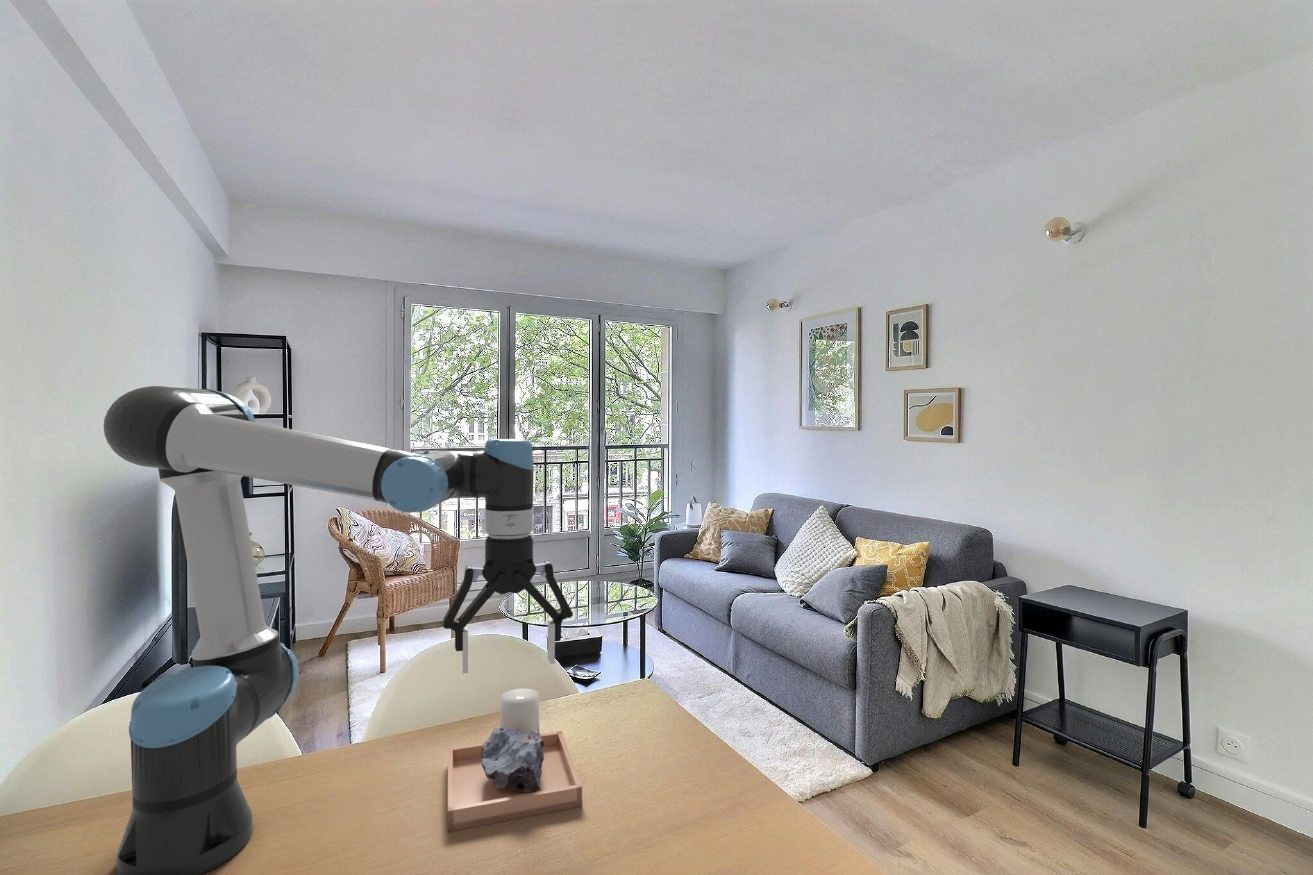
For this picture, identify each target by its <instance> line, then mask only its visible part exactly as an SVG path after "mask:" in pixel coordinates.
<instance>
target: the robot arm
mask: <svg viewBox="0 0 1313 875" xmlns="http://www.w3.org/2000/svg"><path fill="white" fill-rule="evenodd" d="M103 432H104V433H103V435H104V437H105V440H106V443H107V444H108V445H109V447H110V448H111V450H112V451H113V452H114V453H115V454H116V455H117V456H119V457H120V458H122V459H123V460H124V461H126V462H129V463H130V464H134V465H137V466H141V467H144V468H145V467H146V468H152V469H153V468H155V469H157V470H158V475H159V480H160V483H161V482H162V484H165V485H166V486H168V487H170V488H172V490H173V491H174V494H175V500H176V505H177V506H176V507H177V510H178V516H179V523H180V527H181V534H182V541H183V546H184V550H185V555H186V562H187V566H188V573H189V578H190V585H191V590H192V594H193V601H194V607H195V612H196V618H197V624H198V629H199V635H200V640H201V641H200V644H199V645H198V646H197V647H196V649H195V650H194V651H193V652H192V654H191V660H192V664H193V667H191V668H185V669H182V670H180V671H179V672H177V673H174V674H167V675H165V676H163V677H161V678H159V679H157V680H155V681H153V682H152V683H150V684H149V685H148V686H146V687H145V688H143V689H142V691H140V692H139V694H138V695H137V696H136V697H135V698H134V700H133V702H132V705H131V709H130V710H131V711H130V721H129V725H128V734H129V739H130V754H131V755H130V760H131V763H130V764H131V793H132V808H131V813H130V816H129V819H128V822H127V825H126V827H125V831H124V832H123V836H122V839H121V842H120V844H119V847H118V849H117V854H116V875H203V874H206V873H207V872H210V871H212V870H213V869H215V868H217V867H219V866H221V865H222V864H224V863H226V862H227V861H228V860H230V859H231V858H233V857H234V856H235V855H237V854H238V853H239V852H240V851H242V849H243V848H244V847H245V846H246V845H247V843H249V841H250V839H251V837H252V834H253V828H254V827H253V814H252V813H253V812H252V809H251V807H250V806H249V803H248V801H247V799H246V796H245V794H244V792H243V790H242V788H241V785H240V783H239V781H238V765H237V764H238V762H237V760H238V758H237V752H238V751H237V746H238V744H239V743H240V742H242V740H244V739H245V738H246V737H248V736H249V735H250V734H251V733H252V732H254V731H255V730H256V729H257V728H258V727H260V726H261V725H262V724H263V723H264V722H265V721H266V720H268V719H271V718H272V717H273V716H274V715H276V714H277V713H278V712H279V711H280V710H281V709H282V707H284V705H285V704H286V703H287V701H289V699H290V698H291V696H292V695H293V693H295V692H294V691H295V690H296V687H297V684H298V680H299V674H300V673H299V672H300V671H299V664H298V661H297V658H296V656H295V654H294V652H293V651H292V650H291V649H289V648H287V647H286V644H284V643H282V642H281V641H280V636H279V632H278V630H276V629H274V628H272V627H270V626H268V625H267V624H266V620H265V615H264V614H265V613H264V609H263V608H264V607H263V603H262V597H261V592H260V587H259V580H258V574H257V569H256V563H255V562H256V561H255V558H254V550H253V546H252V540H251V535H250V534H251V533H250V530H249V529H250V528H249V523H248V517H247V516H248V515H247V513H246V512H247V511H246V505H245V500H244V493H243V489H242V488H243V487H242V482H241V481H242V478H243V477H247V478H253V479H258V480H264V481H270V482H274V483H280V484H285V485H291V486H295V487H302V488H307V489H312V490H318V491H324V492H328V493H334V494H339V495H345V496H349V497H356V498H361V499H365V500H372V501H377V502H380V503H383V504H384V503H385V504H388V505H390V506H391V507H392V508H394V509H395V510H397V511H399V512H402V513H407V514H408V513H411V514H412V513H421V512H426V511H428V510H430V509H432V508H434V507H436V506H437V505H439V504H442V503H443V502H445V501H448V500H450V499H470V498H471V499H482V498H483V499H484V502H485V504H484V506H485V508H484V509H485V510H484V511H485V512H484V516H485V517H484V523H485V524H484V526H485V527H484V532H485V533H486V534H487V536H486V538H485V540H484V541H485V542H484V549H485V550H484V552H485V553H484V557H485V558H484V559H485V560H484V565H483V567H473V566H472V565H470V564H469V565H466V566H465V568H464V575H463V580H462V582H461V584H460V586H459V588H458V590H457V592H456V594H455V595H454V598H453V599H452V601H451V604H450V605H449V608H448V610H447V611H446V613H445V616H444V617H443V621H442V625H443V626H442V627H443V628H444V629H446V630H449V629H450V630H452V631H453V632H454V648H455V651H456V652H462V674H468V673H469V630H468V626H467V625H468V624H469V623H470V621H472V620H473V618H474V617H475V616H476V614H478V612H479V610H480V609H481V608H482V607H483V606H484V605H485V603H487V601H488V600H489V599H491V598H492V596H493V594H495V592H496V593H497V594H499V595H506V594H509V593H512V594H520V592H522V591H524V590H525V591H526V592H527V593H528V594H529V595H530V596H531V597H532V598H533V599H534V601H536V602H537V604H538V605H539V606H540V607H541V608H542V609H543V610H544V612H546V613H547V615H548V616H549V617H550V618H551V619H547V660H548V663H549V664H550V665H554V664H555V663H556V659H555V658H556V653H555V652H556V642H561V640H562V623H563V622H564V620H566V619H571V617H573V612H572V609H571V607H570V606H569V604H568V602H567V600H566V597H565V596H564V594H563V592H562V590H561V588H560V586H559V583H557V581H556V578H555V576H554V568H553V564H552V563H551V562H550V560H545V561H543V563H536V564H535V563H534V537H533V535H532V534H531V533H532V532H533V531H534V470H535V466H534V458H533V445H532V443H531V441H529V440H528V439H523V438H492V439H487V440H486V442H485V445H484V446H485V447H484V448H483V450H477V451H462V450H461V451H459V450H436V449H430V450H421V451H418V450H417V451H413V452H410V451H406V450H401V449H399V450H398V449H392V448H390V447H389V448H388V447H382V446H379V445H373V444H368V443H363V442H358V441H354V440H353V441H352V440H347V439H343V438H342V439H341V438H337V437H332V436H327V435H323V434H317V433H316V434H315V433H312V432H307V431H303V430H296V429H291V428H286V427H282V426H281V427H280V426H276V425H270V424H265V423H261V422H256V419H255V416H254V414H253V413H252V411H251V410H250V407H248V406H247V405H246V404H245V402H243V401H242V400H240V399H239V398H237V397H236V396H234V395H232V394H229V393H227V392H224V391H223V392H222V391H218V390H215V389H209V388H192V387H191V388H189V387H188V388H187V387H186V388H185V387H170V386H162V385H161V386H160V385H152V386H144V387H139V388H135V389H133V390H130V391H127V392H125V393H124V394H122V395H121V396H119V397H118V398H117V399H116V400H115V401H114V402H112V404H111V405H110V407H109V408H108V409H107V411H106V415H105V416H104V419H103ZM537 572H538V573H539V574H540V576H541V577H542V578H544V577H545V581H547V583H548V586H549V587H550V589H551V591H552V594H553V595H554V596H555V599H556V601H557V603H558V605H559V607H560V608H561V609H560V610H557V609H556V608H555V607H554V606H553V605H552V603H551V602H550V601H549V600H548V598H546V597H545V596H544V595H543V594H542V593H541V591H539V590H538V588H537V586H535V585H534V584H533V582H532V581H531V580H532V579H533V577H534V576H535V574H536V573H537ZM481 576H482V577H483V579H485V581H486V584H485V585H483V587H482V589H481V590H480V592H479V593H478V594H477V595H476V596H475V597H474V599H473V600H472V602H471V603H470V604H469V605H468V606H467V607H466V609H465V610H463V612H462V613H461V614H460V616H459V617H458V618H456V617H457V615H458V613H459V611H460V609H461V607H462V605H463V604H464V601H465V599H466V597H467V595H468V593H469V591H470V590H471V586H472V583H474V582H476V581H477V580H478V578H479V577H481Z"/></svg>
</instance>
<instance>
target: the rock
mask: <svg viewBox="0 0 1313 875" xmlns="http://www.w3.org/2000/svg"><path fill="white" fill-rule="evenodd" d="M540 734H541V733H540V730H539V731H526V730H519V729H518V730H517V729H514V728H501V727H494V729H493V731H492V732H491V733H490V735H489V737H488V739H486V740H485V742H483V743H484V745H483V747H482V752H481V757H482V762H481V765H482V767H483V769H484V771H485V775H486V777H487V778H488V779H493V782H494V786H495V787H496V789H504V790H510V791H520V792H525V793H531V792H536V791H538V790H540V788H541V787H540V780H539V779H540V777H541V773H542V769H541V766H542V762H543V760H544V753H543V747H544V741H543V740H542V739H541V738H540Z"/></svg>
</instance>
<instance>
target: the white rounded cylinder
mask: <svg viewBox="0 0 1313 875" xmlns="http://www.w3.org/2000/svg"><path fill="white" fill-rule="evenodd" d="M499 701H500V728H514V729H517V730H518V729H519V730H526V731H539V732H540V694H539V692H538V691H537V690H535V689H532V688H531V689H530V688H516V689H511V690H508V691H506V692H504V693H502V694H501V696H500V700H499Z"/></svg>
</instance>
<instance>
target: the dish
mask: <svg viewBox="0 0 1313 875" xmlns="http://www.w3.org/2000/svg"><path fill="white" fill-rule="evenodd" d="M540 738H541V739H542V740H543V741H544V747H543V753H544V760H543V762H542V766H541V769H542V773H541V777H540V779H539V780H540V787H541V788H540V790H538V791H536V792H531V793H525V792H520V791H510V790H504V789H496V787H495V786H494V782H493V779H488V778H487V777H486V775H485V771H484V769H483V767H482V765H481V762H482V757H481V752H482V747H483V745H484V743H485V742H483V743H476V744H467V745H463V746H461V745H460V746H456V747H450V748H447V832H455V831H459V830H463V829H469V828H474V827H479V826H484V825H490V824H497V823H500V822H505V821H512V820H516V819H517V820H518V819H521V818H526V817H532V816H536V815H537V816H538V815H543V814H549V813H553V812H559V811H562V810H569V809H573V808H579V807H583V785H582V782H581V780H580V776H579V774H578V771H577V769H576V767H575V764H574V761H573V759H572V756H571V752H570V750H569V747H568V745H567V742H566V740H565V737H564V733H563V732H562V730H560V731H554V732H553V731H552V732H548V733H540Z"/></svg>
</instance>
